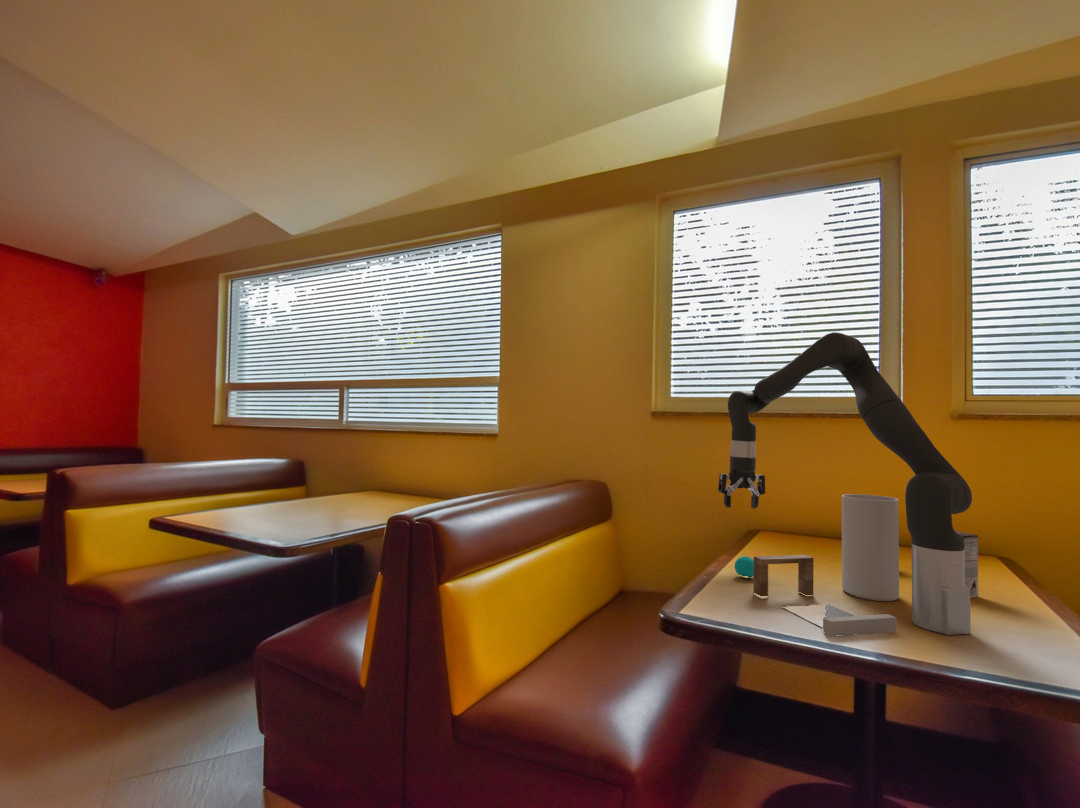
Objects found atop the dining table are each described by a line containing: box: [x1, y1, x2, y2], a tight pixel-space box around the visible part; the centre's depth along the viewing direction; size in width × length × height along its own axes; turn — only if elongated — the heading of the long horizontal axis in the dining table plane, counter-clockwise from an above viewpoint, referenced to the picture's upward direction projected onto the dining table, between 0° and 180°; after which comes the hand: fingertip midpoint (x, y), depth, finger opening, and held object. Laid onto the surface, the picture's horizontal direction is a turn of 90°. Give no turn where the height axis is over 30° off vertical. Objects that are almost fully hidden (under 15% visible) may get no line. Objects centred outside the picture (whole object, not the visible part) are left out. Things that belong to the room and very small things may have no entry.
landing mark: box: [824, 603, 855, 618], centre depth 119 cm, size 13×13×1 cm
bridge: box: [753, 554, 814, 597], centre depth 133 cm, size 3×15×10 cm, turn 102°
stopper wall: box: [822, 613, 897, 637], centre depth 109 cm, size 2×16×3 cm, turn 102°
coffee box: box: [955, 530, 979, 599], centre depth 139 cm, size 9×6×16 cm
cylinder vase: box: [841, 493, 900, 602], centre depth 136 cm, size 12×12×25 cm
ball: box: [734, 555, 754, 578], centre depth 148 cm, size 6×6×6 cm
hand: (740, 507), depth 162 cm, fingers open, 8 cm apart
